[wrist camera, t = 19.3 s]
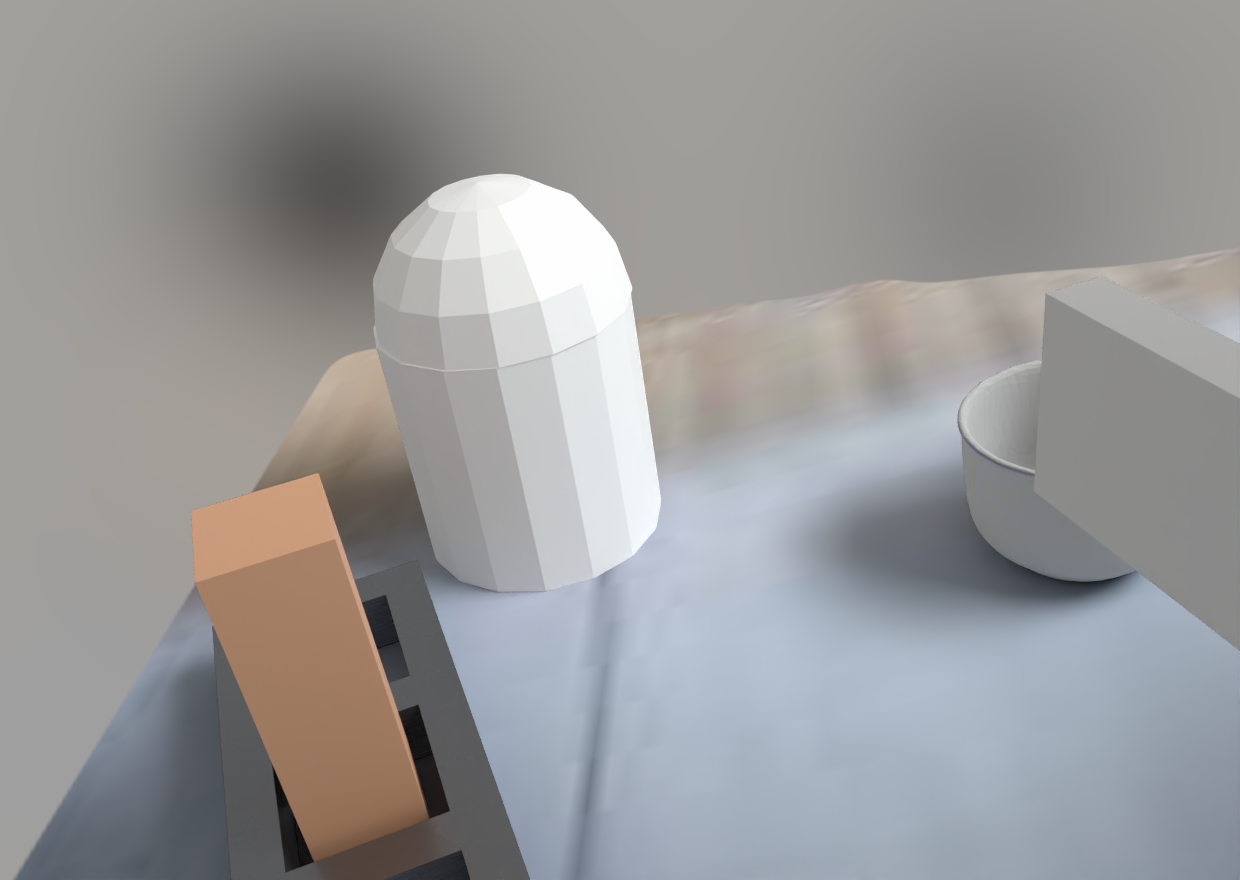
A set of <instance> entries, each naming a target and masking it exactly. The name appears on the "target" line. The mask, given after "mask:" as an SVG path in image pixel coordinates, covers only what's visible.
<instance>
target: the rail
mask: <svg viewBox="0 0 1240 880" xmlns="http://www.w3.org/2000/svg"><path fill="white" fill-rule="evenodd" d="M354 581H355V584H356V587H357V590H358V593H359V596H360V599H361V602H362V605H363V608H364V611H365V614H366V617H367V620H368V623H369V626H370V629H371V632H372V635H373V638H374V641H375V644H376V647H377V648H379V647H382V646H385V645H388V644H391V643H394V642H397V641H400V644H401V648H402V651H403V654H404V658H405V661H406V664H407V668H408V671H409V675H410V676H407V677H404V678H402V679H399V680H396V681H393V682H390V683H389V686H390V689H391V692H392V695H393V698H394V701H395V704H396V707H397V710H398V713H399V716H400V719H401V722H402V725H403V728H404V731H405V734H406V737H407V740H408V743H409V746H410V749H411V752H412V755H413V758H414V760H416V759H418V758H421V757H424V756H427V755H429V754H432V753H433V755H434V759H435V762H436V765H437V769H438V772H439V775H440V779H441V782H442V786H443V789H444V792H445V796H446V799H447V802H448V806H449V809H450V811H449V812H446V813H444V814H441V815H438V816H436V817H433V818H430V819H428V820H425V821H422V822H420V823H417V824H414V825H412V826H409V827H406V828H404V829H401V830H398V831H396V832H393V833H390V834H388V835H385V836H382V837H380V838H377V839H374V840H372V841H369V842H366V843H364V844H361V845H358V846H356V847H353V848H350V849H348V850H345V851H342V852H340V853H337V854H334V855H332V856H329V857H326V858H324V859H321V860H318V861H316V862H313V863H310V864H308V865H305V866H302V867H300V862H299V855H298V848H297V841H296V833H295V826H294V819H293V812H292V809H291V807H290V804H289V802H288V800H287V797H286V795H285V793H284V790H283V788H282V785H281V783H280V781H279V778H278V776H277V774H276V771H275V769H274V767H273V764H272V762H271V760H270V757H269V755H268V753H267V750H266V748H265V746H264V743H263V741H262V739H261V736H260V734H259V732H258V729H257V727H256V725H255V722H254V720H253V718H252V715H251V713H250V711H249V708H248V706H247V704H246V701H245V699H244V696H243V694H242V692H241V689H240V687H239V685H238V682H237V680H236V678H235V675H234V673H233V671H232V668H231V666H230V664H229V661H228V659H227V657H226V654H225V652H224V650H223V647H222V645H221V643H220V640H219V638H218V636H217V633H216V631H215V629H214V626H212V630H213V643H214V657H215V670H216V684H217V698H218V711H219V725H220V738H221V752H222V766H223V779H224V793H225V807H226V820H227V834H228V847H229V861H230V875H231V880H530V878H529V875H528V872H527V869H526V867H525V864H524V861H523V858H522V855H521V852H520V850H519V847H518V844H517V841H516V838H515V835H514V833H513V830H512V827H511V824H510V821H509V818H508V816H507V813H506V810H505V807H504V804H503V801H502V799H501V796H500V793H499V790H498V787H497V784H496V782H495V779H494V776H493V773H492V770H491V767H490V765H489V762H488V759H487V756H486V753H485V750H484V748H483V745H482V742H481V739H480V736H479V733H478V731H477V728H476V725H475V722H474V719H473V716H472V714H471V711H470V708H469V705H468V702H467V699H466V697H465V694H464V691H463V688H462V685H461V682H460V680H459V677H458V674H457V671H456V668H455V665H454V663H453V660H452V657H451V654H450V651H449V648H448V646H447V643H446V640H445V637H444V634H443V631H442V629H441V626H440V623H439V620H438V617H437V614H436V612H435V609H434V606H433V603H432V600H431V597H430V595H429V592H428V589H427V586H426V583H425V580H424V578H423V575H422V572H421V569H420V566H419V563H418V561H417V560H416V561H413V562H410V563H407V564H404V565H401V566H398V567H395V568H391V569H388V570H385V571H382V572H379V573H376V574H373V575H370V576H367V577H364V578H360V579H357V580H354Z"/></svg>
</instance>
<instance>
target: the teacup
mask: <svg viewBox="0 0 1240 880" xmlns="http://www.w3.org/2000/svg"><path fill="white" fill-rule="evenodd" d="M1041 363H1042V360H1039V361H1032V362H1029V363H1024V364H1020V365H1016V366H1013V367H1010V368H1008V369H1005V370H1003V371H1000V372H998V373H996V374H994V375H993V376H991V377H989V378H987V379H986V380H984V381H982V382H980V383H979V384H978V385H977V386H976V387H974V388H973V389H972V390H971V391H970V392H969V394H968V395H967V396H966V397H965V398H964V400H963V401H962V403H961V406H960V408H959V411H958V428H959V431H960V434H961V437H962V456H963V468H964V479H965V487H966V494H967V500H968V505H969V509H970V513H971V516H972V519H973V521H974V523H975V525H976V527H977V529H978V531H979V532H980V533H981V535H982V536H983V537H984V539H985V540H986V541H987V542H988V543H989V544H990V545H991V546H992V547H993V548H994V549H995V550H996V551H998V552H999V553H1000V554H1001V555H1003V556H1004V557H1006V558H1007V559H1009V560H1010V561H1012V562H1015V563H1017V564H1019V565H1021V566H1023V567H1025V568H1028V569H1030V570H1032V571H1035V572H1037V573H1039V574H1042V575H1045V576H1048V577H1051V578H1055V579H1060V580H1066V581H1079V582H1089V581H1101V580H1106V579H1111V578H1116V577H1119V576H1122V575H1125V574H1129V573H1132V572H1135V571H1136V570H1135V569H1134V568H1132V567H1131V566H1130V565H1128V564H1127V563H1126V562H1125V561H1123V560H1122V559H1121V558H1119V557H1118V556H1117V555H1115V554H1114V553H1113V552H1112V551H1110V550H1109V549H1108V548H1106V547H1105V546H1104V545H1103V544H1101V543H1100V542H1099V541H1097V540H1096V539H1095V538H1093V537H1092V536H1091V535H1090V534H1088V533H1087V532H1086V531H1084V530H1083V529H1082V528H1081V527H1079V526H1078V525H1077V524H1075V523H1074V522H1073V521H1072V520H1070V519H1069V518H1068V517H1066V516H1065V515H1064V514H1062V513H1061V512H1060V511H1059V510H1057V509H1056V508H1055V507H1053V506H1052V505H1051V504H1050V503H1048V502H1047V501H1046V500H1044V499H1043V498H1042V497H1041V496H1039V495H1038V494H1037V493H1035V492H1034V479H1035V462H1036V446H1037V429H1038V412H1039V396H1040V379H1041Z"/></svg>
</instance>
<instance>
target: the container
mask: <svg viewBox="0 0 1240 880" xmlns="http://www.w3.org/2000/svg"><path fill="white" fill-rule="evenodd" d="M373 290H374V308H375V325H374V327H373V330H374V336H375V342H376V348H377V351H378V355H379V359H380V362H381V366H382V369H383V373H384V376H385V380H386V383H387V387H388V390H389V394H390V398H391V401H392V405H393V408H394V412H395V415H396V419H397V422H398V426H399V430H400V433H401V437H402V440H403V444H404V447H405V451H406V454H407V458H408V461H409V465H410V469H411V472H412V476H413V479H414V483H415V486H416V490H417V493H418V497H419V500H420V504H421V508H422V511H423V515H424V518H425V522H426V525H427V529H428V532H429V536H430V539H431V543H432V547H433V550H434V554H435V557H436V561H437V562H439V563H440V564H441V565H442V566H443V567H444V568H445V569H447V570H448V571H449V572H450V573H451V574H452V575H453V576H454V577H456V578H457V579H458V580H459V581H461V582H464V583H468V584H471V585H475V586H478V587H482V588H485V589H489V590H492V591H496V592H540V591H549V590H553V589H557V588H560V587H564V586H568V585H571V584H575V583H579V582H582V581H586V580H590V579H593V578H595V577H597V576H599V575H601V574H602V573H604V572H606V571H607V570H609V569H611V568H613V567H614V566H616V565H618V564H619V563H621V562H623V561H625V560H626V559H628V558H630V557H631V556H633V555H634V554H635V553H636V551H637V550H638V549H639V548H640V547H641V545H642V544H643V543H644V542H645V541H646V540H647V538H648V537H649V536H650V535H651V534H652V533H653V531H654V530H655V529H656V526H657V521H658V515H659V510H660V505H661V496H660V490H659V483H658V476H657V469H656V462H655V456H654V449H653V442H652V435H651V428H650V422H649V415H648V408H647V401H646V394H645V388H644V381H643V374H642V367H641V360H640V354H639V347H638V340H637V333H636V326H635V320H634V313H633V307H632V299H631V291H632V285H631V283H630V280H629V277H628V275H627V272H626V269H625V267H624V264H623V261H622V259H621V256H620V254H619V251H618V248H617V245H616V243H615V241H614V240H613V239H612V237H611V236H610V235H609V233H608V232H607V230H606V229H605V228H604V227H603V226H602V225H601V224H600V223H599V221H598V220H597V219H596V218H594V216H593V215H592V214H590V212H589V211H588V210H587V209H586V208H585V207H584V206H583V205H582V204H581V203H580V202H579V201H578V200H577V199H576V198H575V197H574V196H573V195H571V194H569V193H566V192H563V191H560V190H558V189H555V188H552V187H549V186H546V185H543V184H541V183H538V182H535V181H532V180H530V179H527V178H524V177H521V176H518V175H510V174H494V175H484V176H478V177H473V178H469V179H464V180H461V181H458V182H455V183H453V184H450V185H447V186H445V187H443V188H441V189H440V190H438V191H436V192H434V193H433V194H432V195H431V196H429V197H428V198H427V199H426V200H425V201H424V202H423V203H422V204H420V205H419V206H418V207H417V208H416V209H415V210H414V211H413V212H411V213H410V215H408V216H407V217H406V218H405V219H404V220H403V221H402V222H401V223H400V224H399V225H398V227H397V228H396V229H395V231H394V232H393V233H392V234H391V236H390V238H389V241H388V244H387V246H386V248H385V251H384V253H383V256H382V258H381V261H380V263H379V266H378V268H377V271H376V273H375V276H374V278H373Z"/></svg>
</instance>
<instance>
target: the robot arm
mask: <svg viewBox="0 0 1240 880" xmlns="http://www.w3.org/2000/svg"><path fill="white" fill-rule="evenodd" d="M1034 492H1035V493H1037V494H1038V495H1039V496H1041V497H1042V498H1043V499H1044V500H1046V501H1047V502H1048V503H1050V504H1051V505H1052V506H1053V507H1055V508H1056V509H1057V510H1059V511H1060V512H1061V513H1062V514H1064V515H1065V516H1066V517H1068V518H1069V519H1070V520H1072V521H1073V522H1074V523H1075V524H1077V525H1078V526H1079V527H1081V528H1082V529H1083V530H1084V531H1086V532H1087V533H1088V534H1090V535H1091V536H1092V537H1093V538H1095V539H1096V540H1097V541H1099V542H1100V543H1101V544H1103V545H1104V546H1105V547H1106V548H1108V549H1109V550H1110V551H1112V552H1113V553H1114V554H1115V555H1117V556H1118V557H1119V558H1121V559H1122V560H1123V561H1125V562H1126V563H1127V564H1128V565H1130V566H1131V567H1132V568H1134V569H1135V570H1136V571H1137V572H1139V573H1140V574H1141V575H1143V576H1144V577H1145V578H1146V579H1148V580H1149V581H1150V582H1152V583H1153V584H1154V585H1156V586H1157V587H1158V588H1159V589H1161V590H1162V591H1163V592H1165V593H1166V594H1167V595H1168V596H1170V597H1171V598H1172V599H1174V600H1175V601H1176V602H1177V603H1179V604H1180V605H1181V606H1183V607H1184V608H1185V609H1187V610H1188V611H1189V612H1190V613H1192V614H1193V615H1194V616H1196V617H1197V618H1198V619H1199V620H1201V621H1202V622H1203V623H1205V624H1206V625H1207V626H1209V627H1210V628H1211V629H1212V630H1214V631H1215V632H1216V633H1218V634H1219V635H1220V636H1221V637H1223V638H1224V639H1225V640H1227V641H1228V642H1229V643H1230V644H1232V645H1233V646H1234V647H1236V648H1237V649H1238V650H1240V344H1239V343H1237V342H1235V341H1233V340H1231V339H1229V338H1227V337H1225V336H1223V335H1221V334H1219V333H1217V332H1215V331H1213V330H1211V329H1209V328H1207V327H1205V326H1203V325H1201V324H1199V323H1197V322H1195V321H1193V320H1191V319H1189V318H1187V317H1184V316H1182V315H1180V314H1178V313H1176V312H1174V311H1172V310H1170V309H1168V308H1166V307H1164V306H1162V305H1160V304H1158V303H1156V302H1154V301H1152V300H1150V299H1148V298H1146V297H1144V296H1142V295H1140V294H1138V293H1136V292H1134V291H1132V290H1130V289H1128V288H1125V287H1123V286H1121V285H1119V284H1117V283H1115V282H1113V281H1111V280H1109V279H1107V278H1105V277H1103V276H1100V277H1097V278H1094V279H1090V280H1087V281H1084V282H1081V283H1078V284H1074V285H1071V286H1068V287H1065V288H1061V289H1058V290H1055V291H1052V292H1048V293H1046V297H1045V313H1044V330H1043V346H1042V363H1041V379H1040V396H1039V412H1038V429H1037V446H1036V462H1035V479H1034Z"/></svg>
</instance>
